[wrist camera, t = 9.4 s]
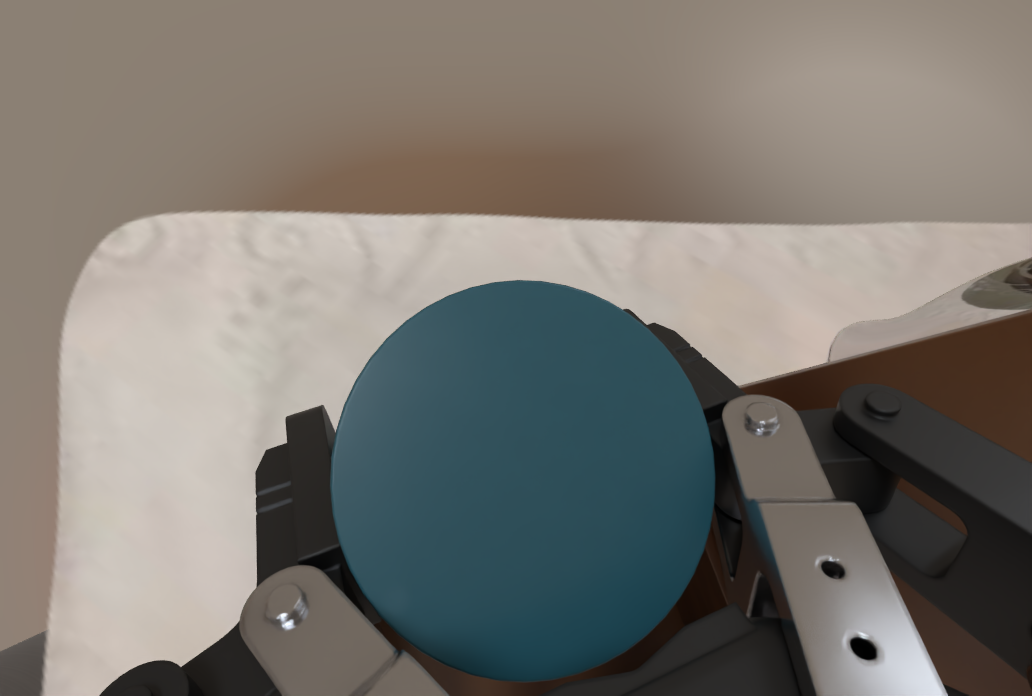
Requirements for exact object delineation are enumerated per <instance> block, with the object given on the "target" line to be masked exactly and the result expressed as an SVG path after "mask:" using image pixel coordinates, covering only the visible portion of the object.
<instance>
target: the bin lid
mask: <svg viewBox="0 0 1032 696" xmlns="http://www.w3.org/2000/svg"><path fill="white" fill-rule="evenodd" d="M858 384H879V385H885V386H888V387H892V388H895V389H897V390H900V391H902V392H904V393H906V394H908V395H909V396H911V397H913V398H915V399H917V400H918V401H920V402H922V403H924V404H926V405H928V406H929V407H931V408H933V409H935V410H937V411H938V412H940V413H942V414H944V415H946V416H948V417H949V418H951V419H953V420H955V421H957V422H958V423H960V424H962V425H964V426H966V427H968V428H969V429H971V430H973V431H975V432H977V433H978V434H980V435H982V436H984V437H986V438H987V439H989V440H991V441H993V442H995V443H997V444H998V445H1000V446H1002V447H1004V448H1006V449H1007V450H1009V451H1011V452H1013V453H1015V454H1017V455H1018V456H1020V457H1022V458H1024V459H1026V460H1027V461H1029V462H1031V463H1032V309H1029V310H1025V311H1021V312H1018V313H1014V314H1010V315H1006V316H1002V317H999V318H995V319H991V320H987V321H983V322H980V323H976V324H972V325H968V326H965V327H961V328H957V329H953V330H949V331H946V332H942V333H938V334H934V335H930V336H927V337H923V338H919V339H915V340H911V341H908V342H904V343H900V344H896V345H892V346H889V347H885V348H881V349H877V350H873V351H870V352H866V353H862V354H858V355H854V356H851V357H847V358H843V359H839V360H836V361H832V362H828V363H824V364H820V365H817V366H813V367H809V368H805V369H801V370H798V371H794V372H790V373H786V374H782V375H779V376H775V377H771V378H767V379H763V380H760V381H756V382H752V383H748V384H744V385H741V386H738V387H739V388H740V389H741V390H743V391H744V392H745V393H746V394H747V395H765V396H769V397H773V398H776V399H778V400H780V401H783V402H784V403H786V404H788V405H789V406H790V407H792V408H793V409H794V410H795V411H804V410H815V409H825V408H836V407H837V405H838V401H839V398H840V395H841V394H842V392H843V391H844V390H846V389H847V388H849V387H851V386H854V385H858ZM897 488H898V489H899V490H901V491H902V492H904V493H905V494H906V495H908V496H909V497H911V498H912V499H914V500H915V501H917V502H918V503H920V504H921V505H923V506H924V507H926V508H927V509H928V510H930V511H931V512H933V513H934V514H936V515H937V516H939V517H940V518H942V519H943V520H945V521H946V522H948V523H949V524H950V525H952V526H953V527H955V528H956V529H958V530H959V531H961V532H962V533H964V534H965V535H967V530H966V527H965V525H964V523H963V522H962V521H961V519H960V518H959V517H958V516H957V515H956V514H955V513H953V512H952V511H951V510H949V509H948V508H946V507H945V506H943V505H942V504H940V503H939V502H937V501H936V500H934V499H933V498H931V497H930V496H928V495H927V494H925V493H924V492H922V491H921V490H919V489H918V488H916V487H915V486H913V485H912V484H910V483H909V482H907V481H906V480H904V479H903V478H901V479H900V481H899V483H898V486H897ZM711 526H712V529H713V525H712V522H711ZM713 532H714V529H713ZM889 571H890V570H889ZM890 574H891V576H892V578H893V580H894V582H895V584H896V586H897V588H898V591H899V593H900V595H901V597H902V599H903V601H904V603H905V605H906V607H907V610H908V612H909V614H910V616H911V618H912V620H913V622H914V624H915V627H916V629H917V631H918V633H919V635H920V637H921V639H922V641H923V643H924V646H925V648H926V650H927V652H928V654H929V656H930V658H931V660H932V662H933V665H934V667H935V669H936V671H937V673H938V675H939V677H940V679H941V682H942V683H943V684H945V685H947V686H949V687H952V688H954V689H956V690H958V691H961V692H963V693H965V694H967V695H970V696H1032V690H1031V688H1030V685H1029V682H1028V680H1027V679H1025V678H1024V677H1023V676H1022V675H1020V674H1019V673H1018V672H1017V671H1015V670H1014V669H1013V668H1012V667H1010V666H1009V665H1008V664H1007V663H1005V662H1004V661H1003V660H1002V659H1000V658H999V657H998V656H997V655H995V654H994V653H993V652H992V651H990V650H989V649H988V648H987V647H985V646H984V645H983V644H982V643H980V642H979V641H978V640H976V639H975V638H974V637H973V636H971V635H970V634H969V633H968V632H966V631H965V630H964V629H963V628H961V627H960V626H959V625H958V624H956V623H955V622H954V621H953V620H951V619H950V618H949V617H948V616H946V615H945V614H944V613H943V612H941V611H940V610H939V609H938V608H936V607H935V606H934V605H933V604H931V603H930V602H929V601H928V600H926V599H925V598H924V597H923V596H921V595H920V594H919V593H918V592H916V591H915V590H914V589H913V588H911V587H910V586H909V585H908V584H906V583H905V582H904V581H903V580H901V579H900V578H899V577H898V576H896V575H895V574H894V573H893V572H891V571H890Z"/></svg>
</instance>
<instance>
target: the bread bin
mask: <svg viewBox="0 0 1032 696" xmlns="http://www.w3.org/2000/svg"><path fill="white" fill-rule="evenodd" d="M726 606H728V596H727V589H726V584H725V579H724V575H723V570H722V566H721V561H720V556H719V552H718V547H717V543H716V538H715V534H714V532H713V529H712V526H711V527H710V531H709V534H708V538H707V541H706V545H705V548H704V552H703V554H702V556H701V559H700V561H699V563H698V566H697V568H696V570H695V573H694V575H693V577H692V578H691V580H690V582H689V584H688V585H687V587H686V589H685V590H684V592H683V594H682V596H681V597H680V598H679V600H678V601H677V602H676V604H675V605H674V606H673V608H672V609H671V610H670V611H669V613H668V614H667V615H666V617H665V618H664V619H663V620H662V621H661V622H660V623H659V624H658V625H657V626H656V627H655V628H654V629H653V630H652V631H651V632H650V633H649V634H648V635H647V636H645V637H644V638H643V639H642V640H640V641H639V642H638V643H636V644H635V645H634V646H632V647H631V648H630V649H628V650H627V651H626V652H624V653H622V654H620V655H619V656H617V657H615V658H613V659H611V660H610V661H608V662H606V663H604V664H602V665H600V666H597V667H595V668H592V669H590V670H587V671H585V672H582V673H579V674H576V675H572V676H568V677H563V678H559V679H555V680H548V681H537V682H509V681H497V680H492V679H487V678H482V677H478V676H473V675H470V674H467V673H464V672H461V671H459V670H456V669H453V668H451V667H448V666H445V665H444V664H442V663H440V662H438V661H436V660H434V659H433V658H431V657H429V656H427V655H425V654H423V653H422V652H420V651H419V650H418V649H416V648H415V647H414V646H412V645H411V644H410V643H408V642H407V641H406V640H404V639H403V638H402V637H400V636H399V635H398V634H397V633H396V632H395V631H394V630H393V629H392V628H391V627H390V626H389V625H388V624H387V623H386V622H385V621H384V620H383V619H382V618H381V622H379V623H376V624H374V627H375V628H376V629H377V630H378V631H379V632H380V633H381V634H382V635H383V636H384V637H385V638H386V639H387V640H388V641H389V643H390V644H391V645H392V646H393V647H394V648H396V649H397V650H398V651H401V650H404V651H406V652H407V653H408V654H410V655H411V656H412V657H413V658H414V659H415V660H416V661H417V662H418V663H419V664H420V665H421V666H422V667H423V668H424V669H425V670H426V671H427V672H428V673H429V674H430V675H431V676H432V678H433V679H434V680H435V681H436V682H437V683H438V684H439V685H440V686H441V687H442V688H443V689H444V690H445V691H446V692H447V693H448V694H449V695H450V696H539V695H541V694H543V693H545V692H547V691H549V690H552V689H554V688H556V687H558V686H560V685H562V684H564V683H566V682H572V681H578V680H584V679H590V678H596V677H602V676H608V675H614V674H620V673H626V672H631V671H634V670H636V669H638V668H639V667H640V666H642V665H643V664H644V663H645V662H646V661H647V660H648V659H649V658H650V657H651V656H652V655H653V654H654V653H656V652H657V651H658V650H659V649H660V648H661V647H662V646H663V645H664V644H665V643H666V642H667V641H669V640H670V639H671V638H672V637H673V636H674V635H675V634H676V633H677V632H678V631H679V630H680V629H682V628H683V627H684V626H686V625H688V624H690V623H692V622H694V621H696V620H699V619H701V618H703V617H705V616H707V615H709V614H711V613H713V612H715V611H717V610H720V609H722V608H724V607H726Z"/></svg>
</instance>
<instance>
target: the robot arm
mask: <svg viewBox="0 0 1032 696" xmlns="http://www.w3.org/2000/svg"><path fill="white" fill-rule="evenodd" d="M624 311H625V312H627V313H629V314H630V315H631V316H633V317H634V318H635V319H636V320H638V321H639V322H640V323H642V324H643V325H644V326H645V327H647V328H648V329H649V330H650V331H651V332H652V333H653V334H654V335H655V336H656V337H657V338H658V339H659V340H660V341H661V342H662V343H663V344H664V345H665V347H666V348H667V349H668V350H669V352H670V353H671V354H672V355H673V357H674V358H675V359H676V360H677V362H678V363H679V365H680V366H681V368H682V370H683V371H684V373H685V374H686V376H687V378H688V379H689V381H690V383H691V384H692V387H693V389H694V391H695V393H696V395H697V397H698V400H699V402H700V404H701V406H702V409H703V412H704V416H705V419H706V422H707V425H708V428H709V432H710V437H711V442H712V447H713V452H714V464H715V476H716V478H715V502H714V509H713V515H712V525H713V529H714V534H715V538H716V543H717V547H718V552H719V556H720V561H721V566H722V570H723V575H724V579H725V584H726V589H727V596H728V606H726V607H724V608H722V609H720V610H717V611H715V612H713V613H711V614H709V615H707V616H705V617H703V618H701V619H699V620H696V621H694V622H692V623H690V624H688V625H686V626H684V627H683V628H682V629H680V630H679V631H678V632H677V633H676V634H675V635H674V636H673V637H672V638H671V639H670V640H669V641H667V642H666V643H665V644H664V645H663V646H662V647H661V648H660V649H659V650H658V651H657V652H656V653H654V654H653V655H652V656H651V657H650V658H649V659H648V660H647V661H646V662H645V663H644V664H643V665H642V666H640V667H639V668H638V669H636V670H634V671H631V672H626V673H620V674H614V675H608V676H602V677H596V678H590V679H584V680H578V681H572V682H566V683H564V684H562V685H560V686H558V687H556V688H554V689H552V690H549V691H547V692H545V693H543V694H541V695H539V696H970V695H967V694H965V693H963V692H961V691H958V690H956V689H954V688H952V687H949V686H947V685H945V684H943V683H942V682H941V679H940V677H939V675H938V673H937V671H936V669H935V667H934V665H933V662H932V660H931V658H930V656H929V654H928V652H927V650H926V648H925V646H924V643H923V641H922V639H921V637H920V635H919V633H918V631H917V629H916V627H915V624H914V622H913V620H912V618H911V616H910V614H909V612H908V610H907V607H906V605H905V603H904V601H903V599H902V597H901V595H900V593H899V591H898V588H897V586H896V584H895V582H894V580H893V578H892V576H891V574H890V571H891V572H893V573H894V574H895V575H896V576H898V577H899V578H900V579H901V580H903V581H904V582H905V583H906V584H908V585H909V586H910V587H911V588H913V589H914V590H915V591H916V592H918V593H919V594H920V595H921V596H923V597H924V598H925V599H926V600H928V601H929V602H930V603H931V604H933V605H934V606H935V607H936V608H938V609H939V610H940V611H941V612H943V613H944V614H945V615H946V616H948V617H949V618H950V619H951V620H953V621H954V622H955V623H956V624H958V625H959V626H960V627H961V628H963V629H964V630H965V631H966V632H968V633H969V634H970V635H971V636H973V637H974V638H975V639H976V640H978V641H979V642H980V643H982V644H983V645H984V646H985V647H987V648H988V649H989V650H990V651H992V652H993V653H994V654H995V655H997V656H998V657H999V658H1000V659H1002V660H1003V661H1004V662H1005V663H1007V664H1008V665H1009V666H1010V667H1012V668H1013V669H1014V670H1015V671H1017V672H1018V673H1019V674H1020V675H1022V676H1023V677H1024V678H1025V679H1027V680H1028V682H1029V685H1030V688H1031V690H1032V463H1031V462H1029V461H1027V460H1026V459H1024V458H1022V457H1020V456H1018V455H1017V454H1015V453H1013V452H1011V451H1009V450H1007V449H1006V448H1004V447H1002V446H1000V445H998V444H997V443H995V442H993V441H991V440H989V439H987V438H986V437H984V436H982V435H980V434H978V433H977V432H975V431H973V430H971V429H969V428H968V427H966V426H964V425H962V424H960V423H958V422H957V421H955V420H953V419H951V418H949V417H948V416H946V415H944V414H942V413H940V412H938V411H937V410H935V409H933V408H931V407H929V406H928V405H926V404H924V403H922V402H920V401H918V400H917V399H915V398H913V397H911V396H909V395H908V394H906V393H904V392H902V391H900V390H897V389H895V388H892V387H888V386H885V385H879V384H858V385H854V386H851V387H849V388H847V389H846V390H844V391H843V392H842V394H841V395H840V398H839V401H838V405H837V407H836V408H825V409H815V410H804V411H795V410H794V409H793V408H792V407H790V406H789V405H788V404H786V403H784V402H783V401H780V400H778V399H776V398H773V397H769V396H765V395H747V394H746V393H745V392H744V391H743V390H741V389H740V388H739V387H738V386H737V385H736V384H735V383H733V382H732V381H731V380H730V379H729V378H728V377H727V376H725V375H724V374H723V373H722V372H721V371H720V370H719V369H717V368H716V367H715V366H714V365H713V364H712V363H711V362H709V361H708V360H707V359H706V358H703V357H702V355H701V354H700V353H699V352H698V351H697V350H696V349H695V348H693V347H690V344H689V343H688V342H687V341H686V340H684V339H683V338H682V337H681V336H680V335H679V334H678V333H676V332H675V331H673V330H671V329H668V328H666V327H663V326H661V325H659V324H656V323H652V324H649V325H646V324H645V323H644V322H643V321H642V320H641V319H639V318H638V317H637V316H636V315H635V314H634V313H633V312H632V311H631V310H629V309H624ZM286 432H287V443H286V444H283V445H280V446H277V447H274V448H271V449H268V450H266V451H265V454H264V456H263V458H262V460H261V462H260V464H259V466H258V468H257V470H256V495H257V497H256V512H257V515H256V535H257V588H256V589H255V590H254V591H253V592H252V594H251V595H250V597H249V598H248V599H247V601H246V603H245V605H244V607H243V610H242V613H241V617H240V621H239V622H238V623H237V625H236V626H235V627H234V628H233V629H232V630H231V631H230V632H229V633H228V634H226V635H225V636H224V637H223V638H221V639H220V640H219V641H217V642H216V643H215V644H213V645H212V646H210V647H209V648H208V649H206V650H205V651H203V652H202V653H200V654H199V655H198V656H196V657H195V658H193V659H192V660H191V661H189V662H188V663H186V664H185V665H183V666H182V667H180V666H179V665H177V664H175V663H173V662H171V661H165V660H160V661H152V662H147V663H145V664H142V665H139V666H137V667H135V668H133V669H131V670H129V671H128V672H126V673H125V674H123V675H121V676H120V677H119V678H118V679H116V680H115V681H114V682H112V683H111V684H110V685H109V686H108V687H107V688H106V689H105V690H104V691H103V692H102V693H101V694H100V696H450V695H449V694H448V693H447V692H446V691H445V690H444V689H443V688H442V687H441V686H440V685H439V684H438V683H437V682H436V681H435V680H434V679H433V678H432V676H431V675H430V674H429V673H428V672H427V671H426V670H425V669H424V668H423V667H422V666H421V665H420V664H419V663H418V662H417V661H416V660H415V659H414V658H413V657H412V656H411V655H410V654H408V653H407V652H406V651H404V650H401V651H398V650H397V649H396V648H394V647H393V646H392V645H391V644H390V643H389V641H388V640H387V639H386V638H385V637H384V636H383V635H382V634H381V633H380V632H379V631H378V630H377V629H376V628H375V627H374V624H376V623H379V622H381V617H380V616H379V615H378V613H377V612H376V611H375V609H374V608H373V606H372V605H371V604H370V602H369V601H368V600H367V598H366V597H365V596H364V594H363V593H362V591H361V589H360V588H359V586H358V584H357V582H356V580H355V578H354V577H353V575H352V573H351V571H350V569H349V567H348V565H347V562H346V559H345V557H344V554H343V551H342V549H341V546H340V543H339V540H338V536H337V531H336V527H335V523H334V518H333V514H332V503H331V491H330V474H331V456H332V451H333V445H334V440H335V434H336V433H335V431H334V428H333V426H332V423H331V421H330V419H329V416H328V414H327V411H326V409H325V407H324V406H323V405H321V406H318V407H315V408H312V409H309V410H305V411H302V412H299V413H296V414H293V415H290V416H287V417H286ZM901 478H903V479H904V480H906V481H907V482H909V483H910V484H912V485H913V486H915V487H916V488H918V489H919V490H921V491H922V492H924V493H925V494H927V495H928V496H930V497H931V498H933V499H934V500H936V501H937V502H939V503H940V504H942V505H943V506H945V507H946V508H948V509H949V510H951V511H952V512H953V513H955V514H956V515H957V516H958V517H959V518H960V519H961V521H962V522H963V523H964V525H965V527H966V530H967V535H965V534H964V533H962V532H961V531H959V530H958V529H956V528H955V527H953V526H952V525H950V524H949V523H948V522H946V521H945V520H943V519H942V518H940V517H939V516H937V515H936V514H934V513H933V512H931V511H930V510H928V509H927V508H926V507H924V506H923V505H921V504H920V503H918V502H917V501H915V500H914V499H912V498H911V497H909V496H908V495H906V494H905V493H904V492H902V491H901V490H899V489H898V488H897V486H898V483H899V481H900V479H901ZM889 570H890V571H889Z"/></svg>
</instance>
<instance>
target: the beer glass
mask: <svg viewBox="0 0 1032 696" xmlns="http://www.w3.org/2000/svg"><path fill="white" fill-rule="evenodd" d="M1029 309H1032V257H1031V258H1028V259H1025V260H1021V261H1018V262H1015V263H1012V264H1010V265H1007V266H1004V267H1001V268H999V269H996V270H993V271H990V272H988V273H985V274H983V275H981V276H979V277H977V278H974V279H972V280H970V281H968V282H966V283H964V284H962V285H960V286H958V287H956V288H954V289H952V290H950V291H948V292H946V293H945V294H943V295H941V296H939V297H937V298H935V299H934V300H932V301H930V302H928V303H926V304H924V305H923V306H921V307H919V308H917V309H915V310H913V311H911V312H909V313H907V314H904V315H901V316H899V317H895V318H891V319H882V320H869V321H861V322H856V323H853V324H851V325H849V326H847V327H846V328H844V329H843V330H842V331H841V332H840V333H839V334H838V335H837V336H836V338H835V340H834V342H833V344H832V347H831V350H830V359H829V362H832V361H836V360H839V359H843V358H847V357H851V356H854V355H858V354H862V353H866V352H870V351H873V350H877V349H881V348H885V347H889V346H892V345H896V344H900V343H904V342H908V341H911V340H915V339H919V338H923V337H927V336H930V335H934V334H938V333H942V332H946V331H949V330H953V329H957V328H961V327H965V326H968V325H972V324H976V323H980V322H983V321H987V320H991V319H995V318H999V317H1002V316H1006V315H1010V314H1014V313H1018V312H1021V311H1025V310H1029Z"/></svg>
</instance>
